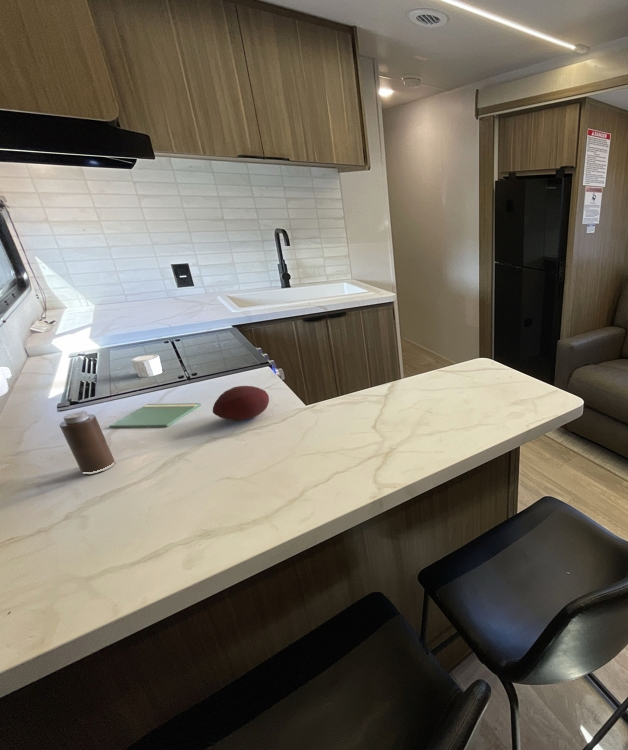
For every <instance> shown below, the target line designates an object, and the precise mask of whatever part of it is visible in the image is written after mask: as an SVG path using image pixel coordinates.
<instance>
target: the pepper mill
mask: <svg viewBox="0 0 628 750" xmlns="http://www.w3.org/2000/svg"><path fill="white" fill-rule="evenodd" d="M58 426H59V428H60V430H61V432H62V434H63V436H64V438H65V441H66V442H67V445H68V446H69V448H70V452H71V453H72V455H73V457H74V459H75V461H76V464H77V466H78V467H79V470H80V472H81V471H82V472H93V471H97V470H100V469H103V468H105V467H107V466H109V465H111V464H112V463H113V462H114V461H115V462H116V460H115V458H114V456H113V453H112V451H111V449H110V447H109V444H108V442H107V440H106V438H105V435H104V433H103V431H102V428H101V426H100V423H99V422H98V419H97V417H96V415H95V414H91V413H88V411H85V410H79V411H78V410H77V411H73V412H70V413H68V414H65V415H64V416H63V420H62V421H61V422H60V423H59V425H58ZM82 472H81V473H82Z"/></svg>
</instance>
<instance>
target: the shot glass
mask: <svg viewBox="0 0 628 750" xmlns="http://www.w3.org/2000/svg"><path fill="white" fill-rule="evenodd" d="M130 362H131V365H132V367H133V369H134V370H135V372H136V374H137V377H139V378H148V377H155V376H158V375H160V374H162V373H163V369H162V364H161V363H162V362H161V359H160V355H159V354H146V355H140V356H136V357H134V358H131V359H130Z"/></svg>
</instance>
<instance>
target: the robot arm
mask: <svg viewBox="0 0 628 750" xmlns="http://www.w3.org/2000/svg"><path fill="white" fill-rule="evenodd" d="M11 378H12V370H11V369H10V367H8V366H4V367H3V366H0V397H3V396H5V395H7V394H8V392H9V390H10V389H9V387H10V386H9V384H8V383H9V382H8V379H11Z"/></svg>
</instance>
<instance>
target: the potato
mask: <svg viewBox="0 0 628 750" xmlns="http://www.w3.org/2000/svg"><path fill="white" fill-rule="evenodd" d="M269 403H270V396H269V394H268V392H267V391H266V390H264V389H262V388H259V387H257V386H253V385H239V386H233V387H231V388H229V389H227V390H225V391H223V393H221V394H220V395H219V396H218V398H217V399H216V401H215V402H214V403H213V406H212V414H213V415H215V416H217V417H219V418H220V419H225V420H227V421H245V420H249V419H252V418H255V417H257V416H259V415H261V414H262V413H263V412H265V410H266V409H267V408H268V406H269Z"/></svg>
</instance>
